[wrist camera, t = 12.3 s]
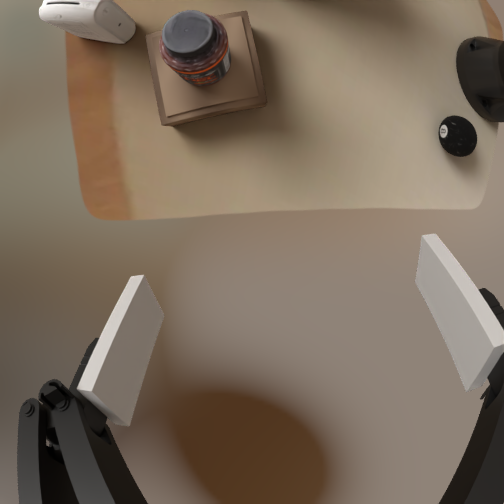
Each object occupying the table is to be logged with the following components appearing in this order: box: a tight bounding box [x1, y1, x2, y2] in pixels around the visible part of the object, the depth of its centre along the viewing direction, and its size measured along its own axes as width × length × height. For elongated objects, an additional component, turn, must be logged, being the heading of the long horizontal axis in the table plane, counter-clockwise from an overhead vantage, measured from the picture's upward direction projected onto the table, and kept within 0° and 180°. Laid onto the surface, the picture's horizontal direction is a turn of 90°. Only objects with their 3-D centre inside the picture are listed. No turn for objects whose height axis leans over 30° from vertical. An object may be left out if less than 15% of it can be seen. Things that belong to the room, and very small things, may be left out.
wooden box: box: [145, 11, 267, 126], centre depth 30 cm, size 12×12×5 cm
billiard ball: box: [439, 116, 477, 157], centre depth 32 cm, size 6×6×6 cm
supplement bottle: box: [159, 10, 231, 86], centre depth 22 cm, size 6×6×11 cm
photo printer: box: [39, 0, 136, 44], centre depth 23 cm, size 10×4×12 cm, turn 66°
